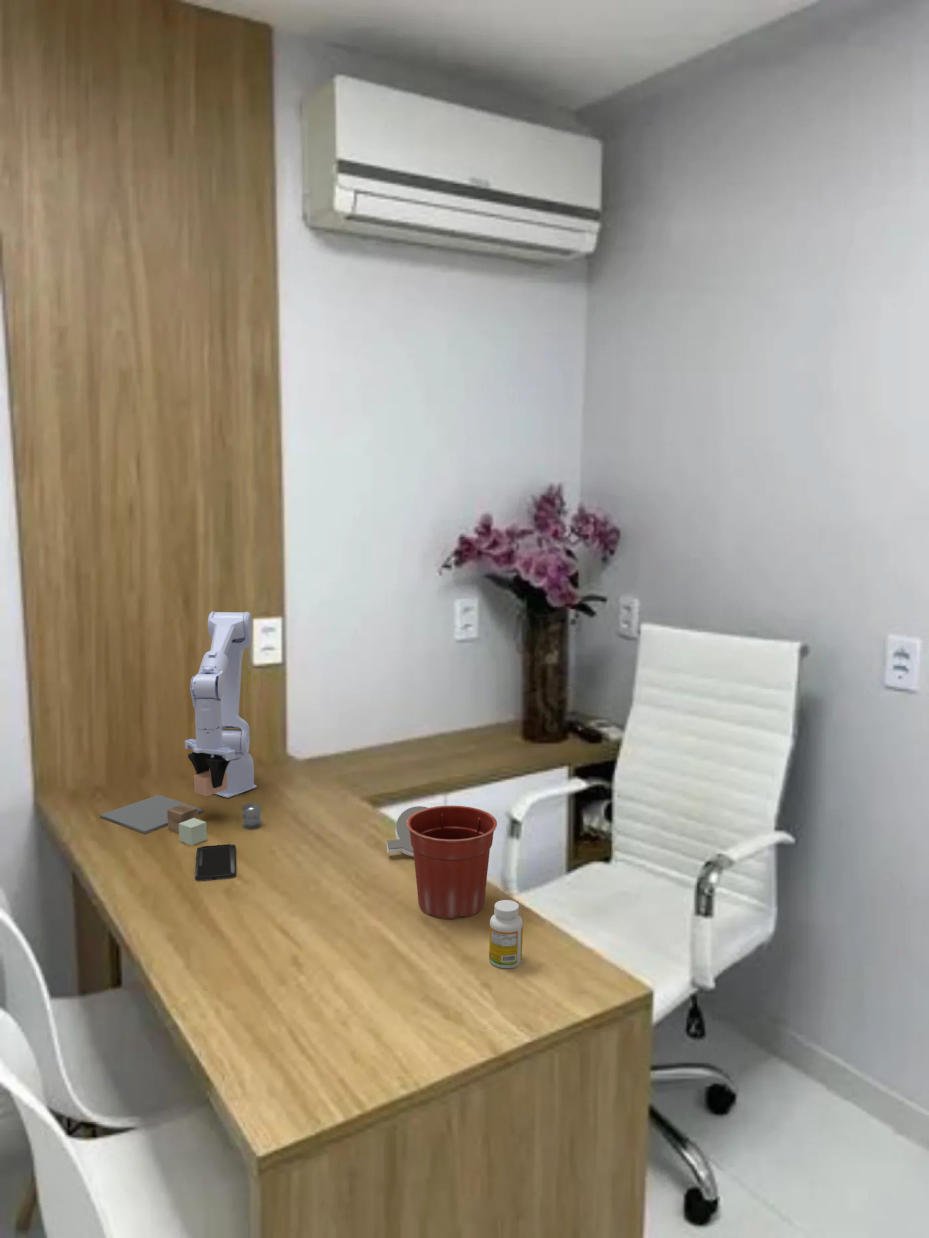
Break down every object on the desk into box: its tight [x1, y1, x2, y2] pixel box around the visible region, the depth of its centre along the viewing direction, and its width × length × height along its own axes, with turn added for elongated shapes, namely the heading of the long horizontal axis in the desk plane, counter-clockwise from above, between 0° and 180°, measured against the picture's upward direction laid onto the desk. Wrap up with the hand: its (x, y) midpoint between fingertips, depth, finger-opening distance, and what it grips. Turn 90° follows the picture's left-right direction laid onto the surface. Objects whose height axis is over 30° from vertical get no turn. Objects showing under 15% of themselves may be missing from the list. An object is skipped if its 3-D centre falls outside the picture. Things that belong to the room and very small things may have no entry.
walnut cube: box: [167, 803, 199, 834], centre depth 206 cm, size 4×4×4 cm
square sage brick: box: [178, 818, 208, 846], centre depth 199 cm, size 4×4×4 cm
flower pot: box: [406, 805, 498, 920], centre depth 171 cm, size 16×16×16 cm
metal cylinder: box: [241, 802, 262, 830], centre depth 208 cm, size 4×4×4 cm
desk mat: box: [99, 794, 204, 834], centre depth 213 cm, size 16×16×1 cm
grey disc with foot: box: [385, 805, 429, 858], centre depth 197 cm, size 15×8×11 cm, turn 105°
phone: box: [194, 843, 237, 882], centre depth 188 cm, size 8×1×15 cm
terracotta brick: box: [193, 769, 227, 797], centre depth 211 cm, size 6×4×4 cm, turn 145°
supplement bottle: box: [488, 899, 524, 969], centre depth 153 cm, size 5×5×10 cm
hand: (210, 784), depth 211 cm, fingers closed on terracotta brick, 4 cm apart
